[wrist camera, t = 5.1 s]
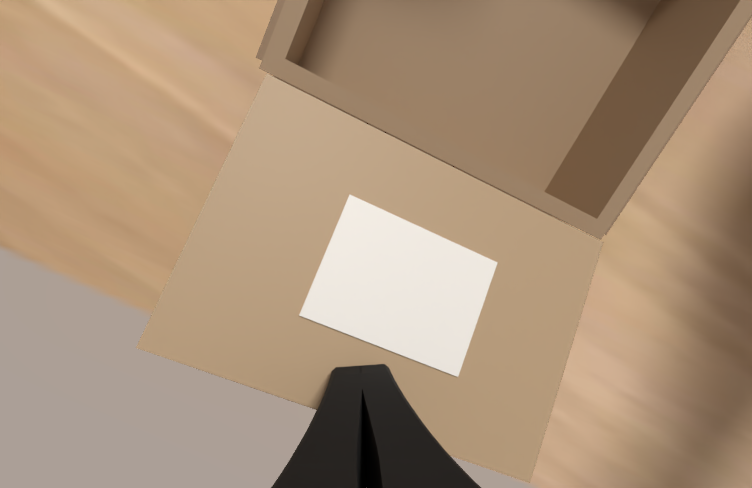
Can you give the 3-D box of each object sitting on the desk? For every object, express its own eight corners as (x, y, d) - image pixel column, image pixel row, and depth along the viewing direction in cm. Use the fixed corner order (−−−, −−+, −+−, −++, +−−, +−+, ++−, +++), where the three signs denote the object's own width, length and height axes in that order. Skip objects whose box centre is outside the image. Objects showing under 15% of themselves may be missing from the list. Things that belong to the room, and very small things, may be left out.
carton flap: (531, 483, 12) (521, 476, 12) (604, 242, 13) (593, 243, 13) (135, 348, 10) (140, 345, 10) (266, 72, 11) (266, 80, 11)
